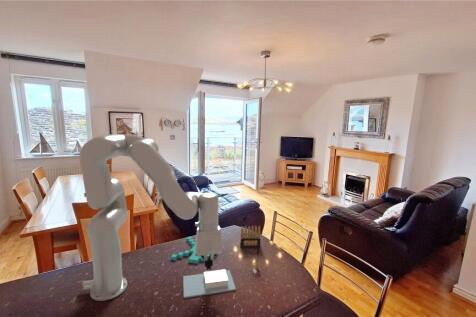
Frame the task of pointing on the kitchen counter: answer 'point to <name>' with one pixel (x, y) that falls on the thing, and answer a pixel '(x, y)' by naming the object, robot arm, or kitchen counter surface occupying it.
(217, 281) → the tile
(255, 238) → the ammunition clip
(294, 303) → the kitchen counter surface
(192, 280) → the mat
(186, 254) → the alien figure
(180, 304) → the kitchen counter surface
